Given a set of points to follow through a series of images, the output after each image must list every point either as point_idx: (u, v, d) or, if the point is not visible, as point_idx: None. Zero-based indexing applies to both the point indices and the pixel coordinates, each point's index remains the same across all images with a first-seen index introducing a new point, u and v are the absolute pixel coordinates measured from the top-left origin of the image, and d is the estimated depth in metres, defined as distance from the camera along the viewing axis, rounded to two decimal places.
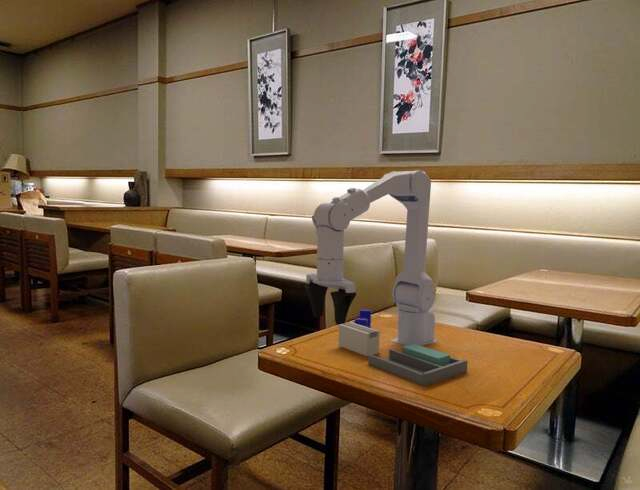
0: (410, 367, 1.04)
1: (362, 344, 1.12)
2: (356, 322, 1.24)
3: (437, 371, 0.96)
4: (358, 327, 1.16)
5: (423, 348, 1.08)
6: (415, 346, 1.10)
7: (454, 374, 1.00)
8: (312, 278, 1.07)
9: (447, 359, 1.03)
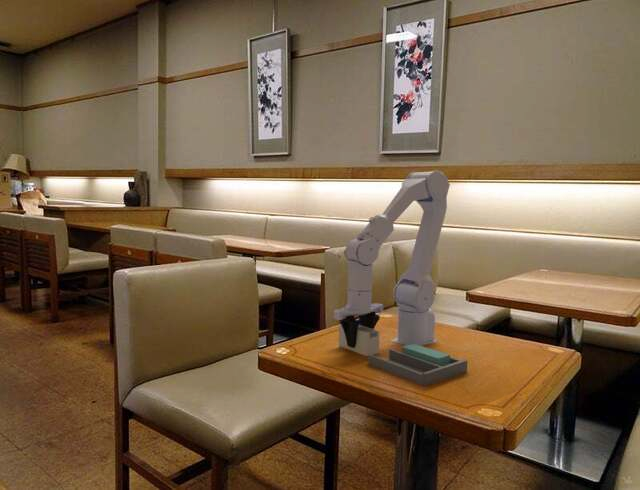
0: (410, 367, 1.04)
1: (361, 344, 1.12)
2: None
3: (437, 371, 0.96)
4: (358, 327, 1.16)
5: (423, 348, 1.08)
6: (415, 346, 1.10)
7: (454, 374, 1.00)
8: None
9: (447, 359, 1.03)
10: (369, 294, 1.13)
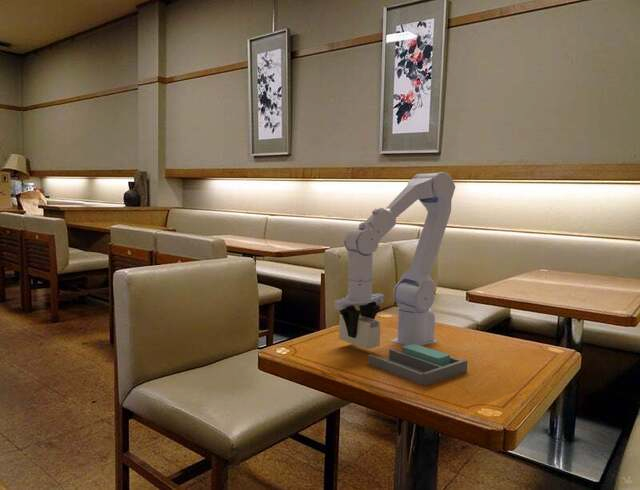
0: (410, 367, 1.04)
1: (362, 334, 1.12)
2: None
3: (437, 371, 0.96)
4: (359, 317, 1.16)
5: (423, 348, 1.08)
6: (415, 346, 1.10)
7: (454, 374, 1.00)
8: None
9: (447, 359, 1.03)
10: (369, 284, 1.13)
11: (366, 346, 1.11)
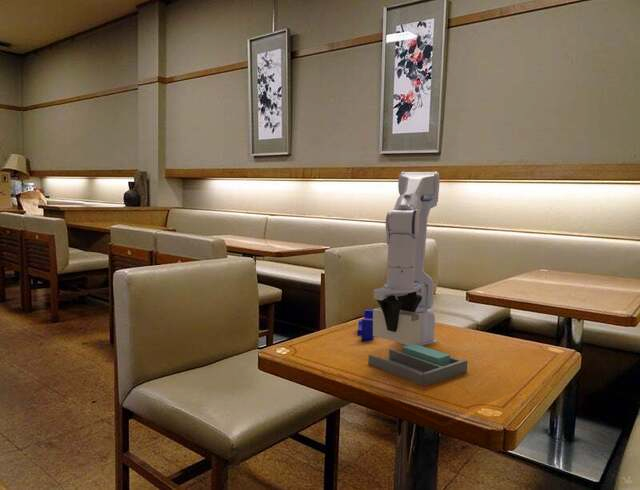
0: (410, 367, 1.04)
1: (402, 329, 1.00)
2: (363, 322, 1.24)
3: (437, 371, 0.96)
4: None
5: (423, 348, 1.08)
6: (415, 346, 1.10)
7: (454, 374, 1.00)
8: None
9: (447, 359, 1.03)
10: (412, 271, 1.01)
11: (407, 342, 0.99)
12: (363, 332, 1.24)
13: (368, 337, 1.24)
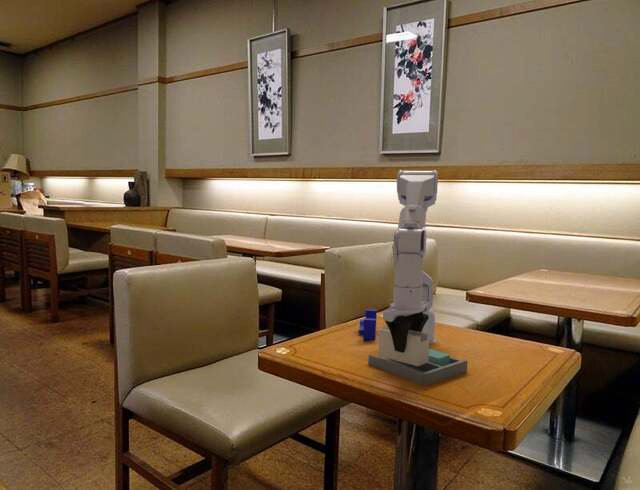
0: (410, 367, 1.04)
1: (411, 349, 0.99)
2: (365, 322, 1.24)
3: (437, 371, 0.96)
4: None
5: None
6: None
7: (454, 374, 1.00)
8: None
9: (447, 359, 1.03)
10: (420, 291, 0.99)
11: (416, 363, 0.98)
12: (365, 332, 1.24)
13: (370, 337, 1.24)
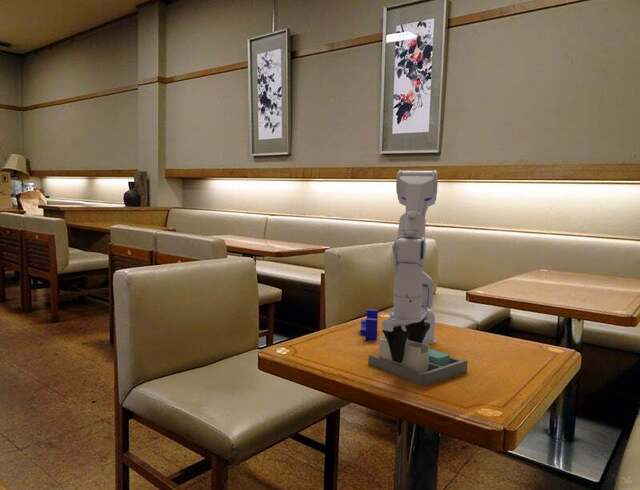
0: None
1: (411, 361, 0.99)
2: (367, 322, 1.24)
3: (437, 371, 0.96)
4: None
5: None
6: None
7: (454, 374, 1.00)
8: None
9: (447, 359, 1.03)
10: (420, 300, 0.99)
11: None
12: (367, 332, 1.24)
13: (371, 337, 1.24)
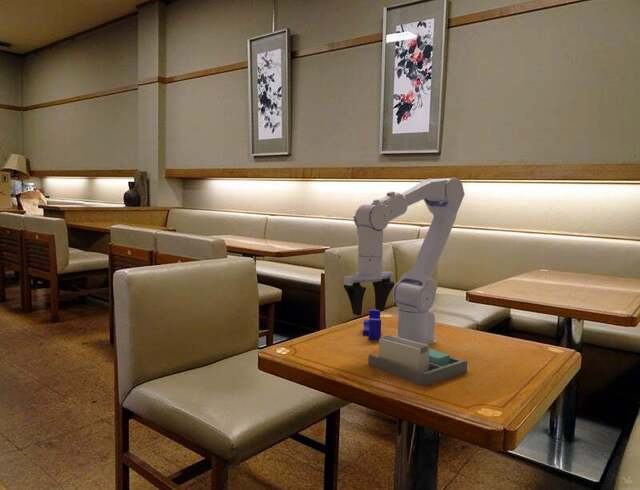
0: None
1: (411, 361, 0.99)
2: (370, 322, 1.24)
3: (437, 371, 0.96)
4: (403, 341, 1.02)
5: None
6: None
7: (454, 374, 1.00)
8: None
9: (447, 359, 1.03)
10: (380, 260, 1.11)
11: None
12: (370, 332, 1.24)
13: (375, 337, 1.24)
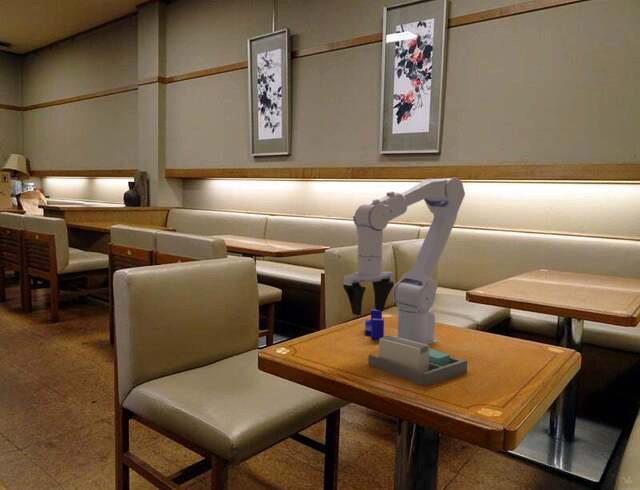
0: None
1: (411, 361, 0.99)
2: (373, 322, 1.24)
3: (437, 371, 0.96)
4: (403, 341, 1.02)
5: None
6: None
7: (454, 374, 1.00)
8: None
9: (447, 359, 1.03)
10: (379, 260, 1.11)
11: None
12: (373, 332, 1.24)
13: (378, 337, 1.24)
